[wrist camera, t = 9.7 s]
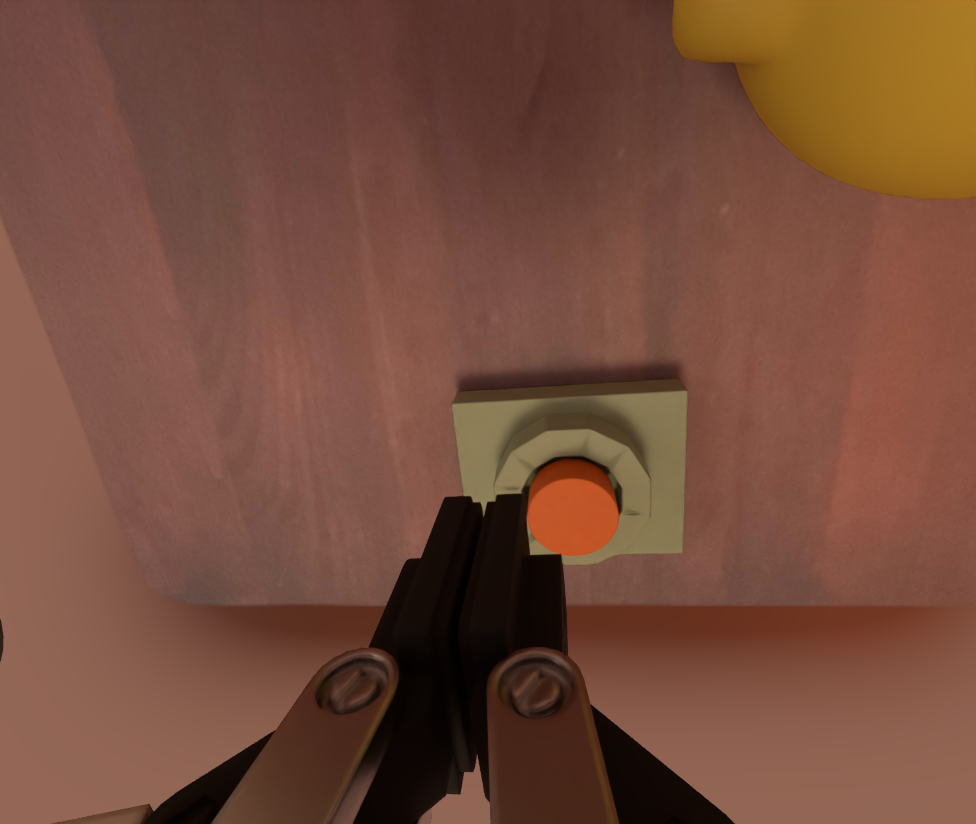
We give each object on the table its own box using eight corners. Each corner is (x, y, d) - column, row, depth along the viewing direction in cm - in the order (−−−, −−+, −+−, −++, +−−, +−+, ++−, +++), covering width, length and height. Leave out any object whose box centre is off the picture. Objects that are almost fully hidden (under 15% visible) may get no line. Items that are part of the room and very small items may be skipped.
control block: (476, 536, 28) (465, 580, 24) (457, 391, 25) (442, 418, 22) (675, 533, 26) (692, 578, 23) (679, 377, 23) (699, 405, 20)
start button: (532, 533, 23) (530, 557, 22) (525, 459, 22) (523, 479, 21) (615, 531, 23) (619, 556, 21) (613, 456, 22) (618, 476, 20)
